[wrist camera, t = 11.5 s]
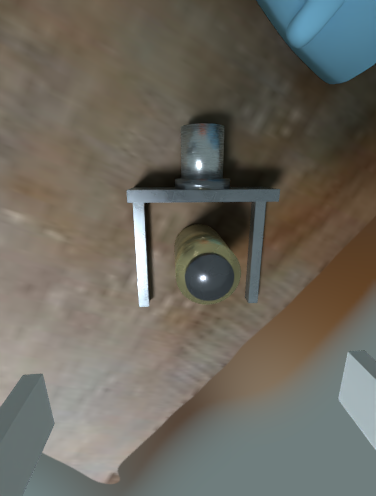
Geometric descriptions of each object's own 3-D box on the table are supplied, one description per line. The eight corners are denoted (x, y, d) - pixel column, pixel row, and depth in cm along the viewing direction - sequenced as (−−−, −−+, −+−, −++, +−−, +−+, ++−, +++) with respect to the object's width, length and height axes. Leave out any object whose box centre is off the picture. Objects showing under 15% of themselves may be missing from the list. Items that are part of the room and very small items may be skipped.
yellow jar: (173, 224, 31) (175, 246, 21) (222, 223, 31) (245, 245, 22) (174, 270, 32) (176, 309, 23) (220, 269, 33) (241, 307, 23)
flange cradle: (130, 130, 28) (120, 120, 22) (266, 131, 28) (290, 122, 23) (140, 301, 33) (134, 326, 28) (253, 297, 34) (269, 321, 29)
